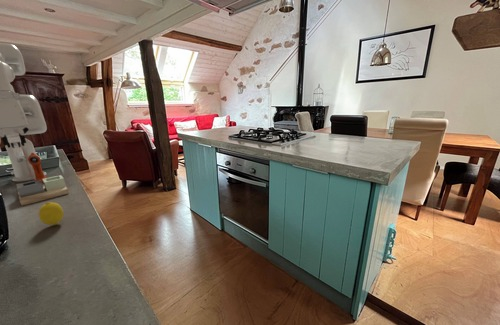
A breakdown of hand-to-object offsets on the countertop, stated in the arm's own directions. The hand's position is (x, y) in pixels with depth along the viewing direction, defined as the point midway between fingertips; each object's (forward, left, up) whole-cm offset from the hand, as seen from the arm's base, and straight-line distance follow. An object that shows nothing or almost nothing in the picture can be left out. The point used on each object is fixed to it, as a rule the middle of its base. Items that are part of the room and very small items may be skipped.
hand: (16, 145), depth 82 cm
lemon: (+30, -19, -22) cm, 41 cm away
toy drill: (-11, +13, -22) cm, 28 cm away
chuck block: (0, 0, -20) cm, 20 cm away
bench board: (+2, +2, -22) cm, 22 cm away
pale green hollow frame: (+5, +6, -20) cm, 21 cm away
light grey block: (0, 0, -6) cm, 6 cm away
